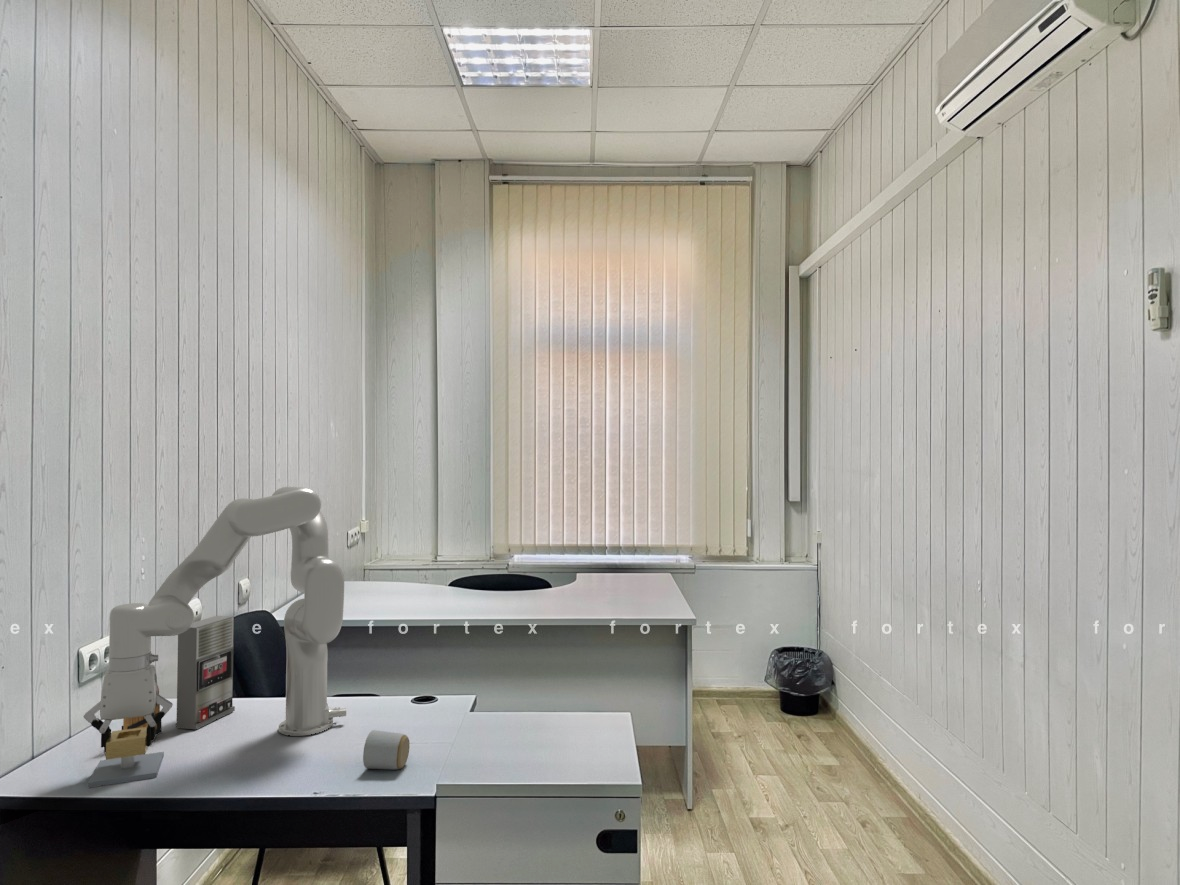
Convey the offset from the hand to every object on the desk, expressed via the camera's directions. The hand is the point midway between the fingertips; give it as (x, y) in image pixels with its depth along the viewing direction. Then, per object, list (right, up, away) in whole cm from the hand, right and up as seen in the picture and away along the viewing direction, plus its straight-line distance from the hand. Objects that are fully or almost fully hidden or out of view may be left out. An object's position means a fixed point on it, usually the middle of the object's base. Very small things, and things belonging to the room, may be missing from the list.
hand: (128, 746), depth 155 cm
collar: (0, -1, 0) cm, 1 cm away
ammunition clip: (-8, -6, +17) cm, 20 cm away
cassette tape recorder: (0, -6, +31) cm, 31 cm away
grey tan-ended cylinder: (+54, -6, +3) cm, 55 cm away
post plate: (0, -5, 0) cm, 5 cm away
